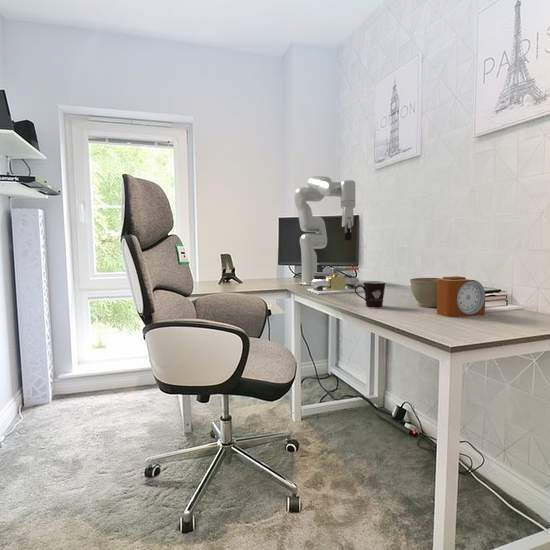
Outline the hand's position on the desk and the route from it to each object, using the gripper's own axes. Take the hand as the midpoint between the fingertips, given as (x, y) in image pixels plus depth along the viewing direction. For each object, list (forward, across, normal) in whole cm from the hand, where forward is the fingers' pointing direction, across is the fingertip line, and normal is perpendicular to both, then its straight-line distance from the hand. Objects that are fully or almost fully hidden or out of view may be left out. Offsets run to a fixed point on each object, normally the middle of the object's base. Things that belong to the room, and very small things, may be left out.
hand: (348, 240), depth 198 cm
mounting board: (+27, -2, -6) cm, 28 cm away
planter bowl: (+27, +44, +28) cm, 59 cm away
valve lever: (+16, -5, -1) cm, 17 cm away
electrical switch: (+27, -16, -12) cm, 34 cm away
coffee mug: (+27, +44, +3) cm, 52 cm away
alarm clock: (+27, +62, +32) cm, 75 cm away
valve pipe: (+27, -3, -6) cm, 28 cm away
